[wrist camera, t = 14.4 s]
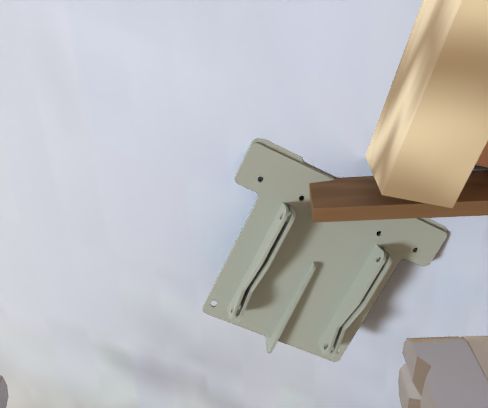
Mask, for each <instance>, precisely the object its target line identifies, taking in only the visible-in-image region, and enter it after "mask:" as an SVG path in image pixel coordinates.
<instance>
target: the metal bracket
mask: <svg viewBox="0 0 488 408" xmlns="http://www.w3.org/2000/svg"><path fill="white" fill-rule="evenodd" d="M259 177H263V181H261V182H259V181H258V178H259ZM334 179H336V178H335V177H333V176H331V175H329V174H327V173H324V172H322V171H320V170H318V169H316V168H314V167H312V166H310V165H308V164H305V163H304V162H303V160H302V157H301V156H299V155H297V154H295V153H292V152H290V151H288V150H286V149H284V148H282V147H280V146H278V145H276V144H274V143H272V142H270V141H268V140H266V139H255V140H253V141H252V143H251V145H250V147H249V149H248V151H247V153H246V155H245V157H244V159H243V161H242V163H241V165H240V167H239V169H238V171H237V173H236V176H235V181H236V183H237V184H239V185H241V186H243V187H246V188H248V189H250V190H252V191H255V192H256V193H258V199H257V201H256V203H255V205H254V207H253V209H252V211H251V213H250V215H249V217H248V219H247V221H246V223H245V225H244V227H243V229H242V231H241V233H240V235H239V237H238V239H237V241H236V242H235V244H234V246H233V248H232V250H231V252H230V254H229V256H228V258H227V260H226V262H225V264H224V266H223V268H222V270H221V272H220V274H219V276H218V278H217V280H216V282H215V284H214V286H213V288H212V290H211V292H210V294H209V296H208V298H207V300H206V302H205V304H204V306H203V312H204V313H206V314H208V315H211V316H214V317H216V318H219V319H222V320H224V321H227V322H230V323H232V324H235V325H237V326H240V327H243V328H245V329H248V330H251V331H253V332H256V333H259V334H261V335H264V336H266V345H267V353H271V352H272V351H273V349H274V347H275V345H276V343H277V341H280V342H283V343H285V344H288V345H290V346H293V347H296V348H298V349H301V350H304V351H306V352H309V353H312V354H314V355H317V356H320V357H322V358H325V359H328V360H330V361H333V362H337V361H339V360H340V358H341V356H342V355H343V353H344V352H345V350H346V348H347V347H348V345H349V343H350V342H351V340H352V339H353V337H354V335H355V334H356V332H357V330H358V329H359V327H360V325H361V324H362V322H363V321H364V319H365V317H366V316H367V314H368V312H369V311H370V309H371V308H372V306H373V304H374V303H375V301H376V299H377V298H378V296H379V294H380V293H381V291H382V290H383V288H384V286H385V285H386V283H387V281H388V280H389V278H390V277H391V275H392V273H393V272H394V270H395V268H396V267H397V265H398V263H399V262H400V261H401V260H403V259H406V260H409V261H411V262H413V263H415V264H418V265H420V266H427V265H429V264H430V263H431V261H432V260H433V258H434V257H435V255H436V253H437V252H438V250H439V249H440V247H441V246H442V244H443V242H444V241H445V239H446V238H447V228H446V227H445V226H443V225H441V224H439V223H437V222H435V221H433V220H431V219H429V218H409V219H386V220H362V221H339V222H315V223H313V217H312V210H311V204H310V193H309V183H315V182H323V181H331V180H334ZM300 196H304V199H303V200H299V197H300ZM378 231H381V234H380V235H377V232H378ZM414 248H417V251H415V252H413V249H414ZM211 301H217V303H218V304H217V305H216V306H212V305H211V304H210V303H211ZM338 349H339V351H338Z"/></svg>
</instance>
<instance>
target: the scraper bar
mask: <svg viewBox="0 0 488 408" xmlns="http://www.w3.org/2000/svg"><path fill="white" fill-rule="evenodd" d="M487 141H488V0H423V2H422V4H421V7H420V10H419V13H418V15H417V18H416V21H415V23H414V26H413V29H412V31H411V34H410V37H409V40H408V42H407V45H406V48H405V50H404V53H403V56H402V58H401V61H400V64H399V67H398V69H397V72H396V75H395V77H394V80H393V83H392V85H391V88H390V91H389V94H388V96H387V99H386V102H385V104H384V107H383V110H382V112H381V115H380V118H379V121H378V123H377V126H376V129H375V131H374V134H373V137H372V139H371V142H370V145H369V148H368V150H367V153H366V156H365V157H366V159H367V161H368V164H369V166H370V168H371V171H372V173H373V175H374V178H375V180H376V182H377V185H378V187H379V190H380V192H381V194H382V195H384V196H390V197H395V198H400V199H406V200H411V201H416V202H421V203H427V204H432V205H437V206H443V207H448V208H453V206H454V205H455V203H456V201H457V199H458V197H459V195H460V193H461V191H462V189H463V187H464V185H465V183H466V181H467V180H468V178H469V176H470V174H471V172H472V170H473V168H474V166H475V164H476V162H477V160H478V158H479V156H480V154H481V153H482V151H483V149H484V147H485V145H486V143H487Z"/></svg>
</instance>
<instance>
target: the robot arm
mask: <svg viewBox="0 0 488 408" xmlns="http://www.w3.org/2000/svg"><path fill="white" fill-rule="evenodd" d="M402 353H403V356H404V359H405V361H406V364H405V365H403V366H402V367H401V368H400V371H399V380H398V383H399V397H400V401H401V406H402V408H488V336H466V337H459V336H457V337H430V338H407V339H406V341H405V342H404V347H403V352H402ZM7 401H8V389H7V384H6V382H5V380H4V378H3V377H2V376H1V375H0V408H6V406H7Z"/></svg>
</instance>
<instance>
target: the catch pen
mask: <svg viewBox="0 0 488 408" xmlns="http://www.w3.org/2000/svg"><path fill="white" fill-rule="evenodd" d="M309 193H310V204H311V210H312V217H313V223H315V222H339V221H362V220H386V219H409V218H433V217H456V216H480V215H488V171H472V172H471V174H470V176H469V178H468V180H467V181H466V183H465V185H464V187H463V189H462V191H461V193H460V195H459V197H458V199H457V201H456V203H455V205H454V206H453V208H448V207H443V206H437V205H432V204H427V203H421V202H416V201H411V200H406V199H400V198H395V197H390V196H384V195H382V194H381V192H380V190H379V187H378V185H377V182H376V180H375V178H374V176H371V177H351V178H336V179H334V180H331V181H323V182H315V183H309Z"/></svg>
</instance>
